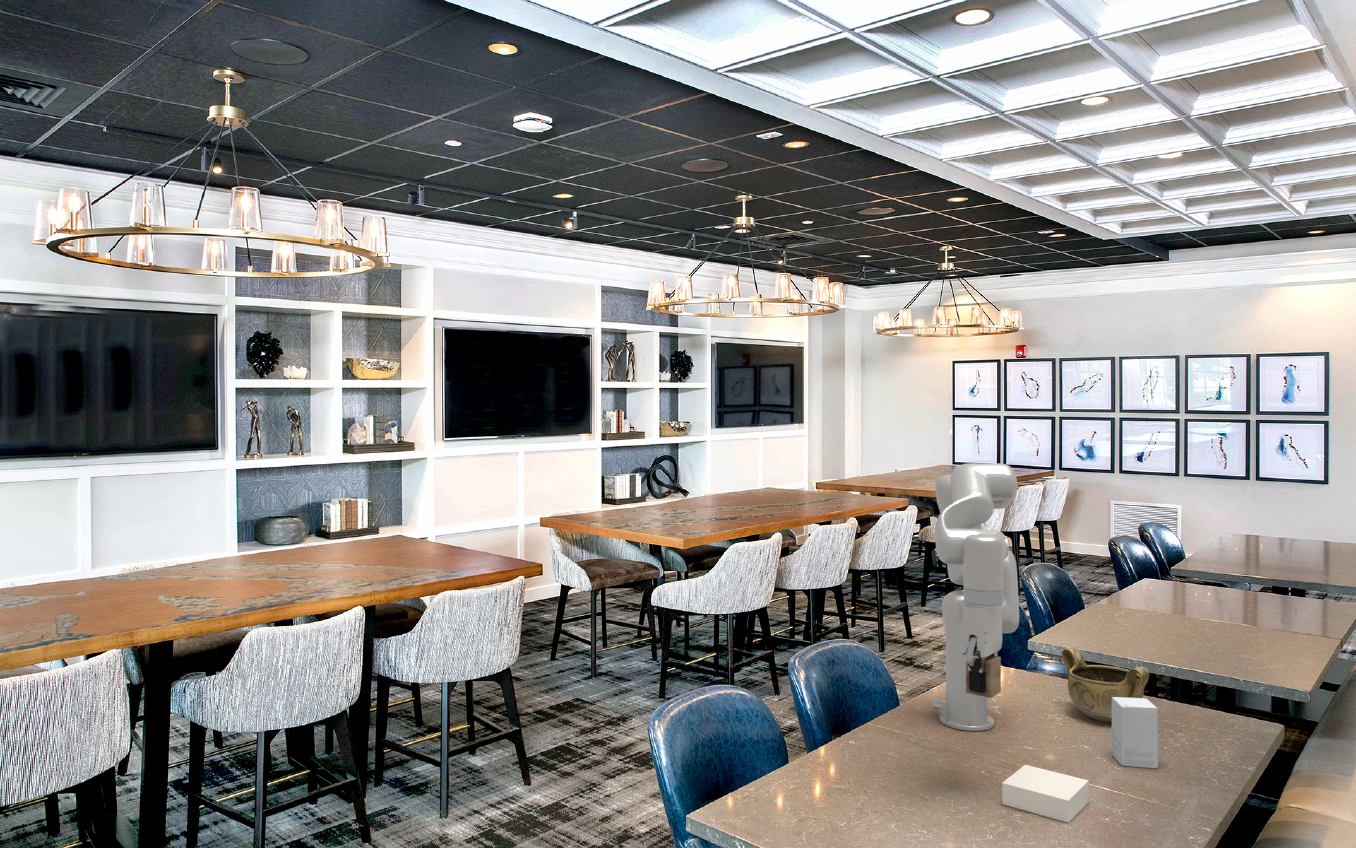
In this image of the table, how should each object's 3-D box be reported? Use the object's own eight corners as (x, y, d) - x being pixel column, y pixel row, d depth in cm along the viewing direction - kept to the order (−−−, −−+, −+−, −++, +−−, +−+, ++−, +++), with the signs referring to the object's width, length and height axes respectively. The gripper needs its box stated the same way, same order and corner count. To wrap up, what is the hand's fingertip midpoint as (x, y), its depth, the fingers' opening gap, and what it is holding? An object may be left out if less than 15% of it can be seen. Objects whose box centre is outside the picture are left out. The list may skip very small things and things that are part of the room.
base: (1002, 804, 167) (1002, 783, 167) (1025, 784, 176) (1025, 764, 176) (1068, 823, 159) (1068, 800, 159) (1089, 801, 168) (1088, 780, 168)
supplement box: (1159, 769, 184) (1158, 708, 184) (1120, 766, 185) (1120, 706, 185) (1147, 756, 191) (1147, 697, 191) (1110, 753, 193) (1110, 695, 193)
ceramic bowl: (1043, 709, 223) (1043, 650, 223) (1090, 700, 230) (1089, 643, 230) (1122, 737, 203) (1121, 672, 203) (1170, 726, 210) (1170, 663, 210)
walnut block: (966, 692, 175) (966, 657, 175) (976, 686, 179) (976, 652, 179) (990, 698, 172) (990, 662, 172) (1000, 691, 176) (1000, 656, 176)
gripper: (981, 588, 184) (981, 675, 184) (946, 601, 171) (947, 694, 172) (1018, 593, 179) (1018, 682, 179) (984, 606, 166) (984, 703, 167)
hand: (983, 687), depth 176 cm, fingers closed on walnut block, 5 cm apart
